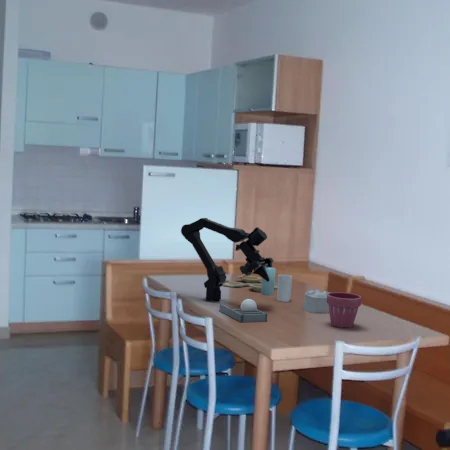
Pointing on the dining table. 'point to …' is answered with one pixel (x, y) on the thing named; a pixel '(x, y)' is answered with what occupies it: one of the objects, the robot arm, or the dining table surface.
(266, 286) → the aqua tapered cylinder
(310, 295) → the lumpy-topped squat cylinder
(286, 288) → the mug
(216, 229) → the robot arm
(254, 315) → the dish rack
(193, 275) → the dining table surface
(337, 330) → the dining table surface
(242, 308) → the white half-round piece
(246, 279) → the tableware set
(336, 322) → the plant pot
